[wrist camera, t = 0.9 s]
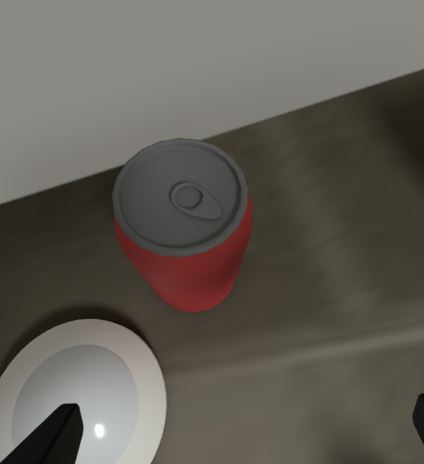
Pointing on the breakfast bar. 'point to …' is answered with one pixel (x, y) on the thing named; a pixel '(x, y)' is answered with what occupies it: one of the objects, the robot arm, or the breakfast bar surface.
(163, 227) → the beer can
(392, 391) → the breakfast bar surface
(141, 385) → the dish
